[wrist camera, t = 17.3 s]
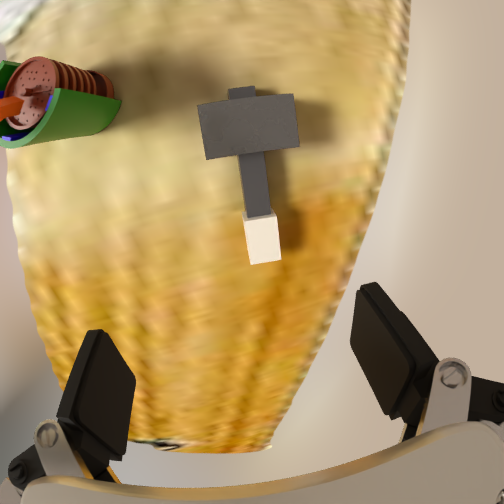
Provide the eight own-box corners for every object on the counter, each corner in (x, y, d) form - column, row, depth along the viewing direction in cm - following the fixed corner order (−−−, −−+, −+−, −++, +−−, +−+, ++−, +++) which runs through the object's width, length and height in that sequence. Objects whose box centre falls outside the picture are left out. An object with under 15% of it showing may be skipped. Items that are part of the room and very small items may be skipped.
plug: (223, 92, 30) (224, 88, 27) (255, 88, 30) (260, 84, 27) (247, 251, 40) (250, 264, 36) (275, 246, 40) (281, 259, 37)
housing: (201, 108, 31) (197, 105, 25) (280, 98, 31) (293, 93, 26) (208, 154, 33) (206, 160, 28) (286, 143, 34) (299, 147, 28)
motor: (130, 78, 28) (45, 44, 10) (109, 142, 31) (13, 170, 13) (69, 69, 25) (-30, 51, 7) (51, 129, 28) (-52, 152, 10)
